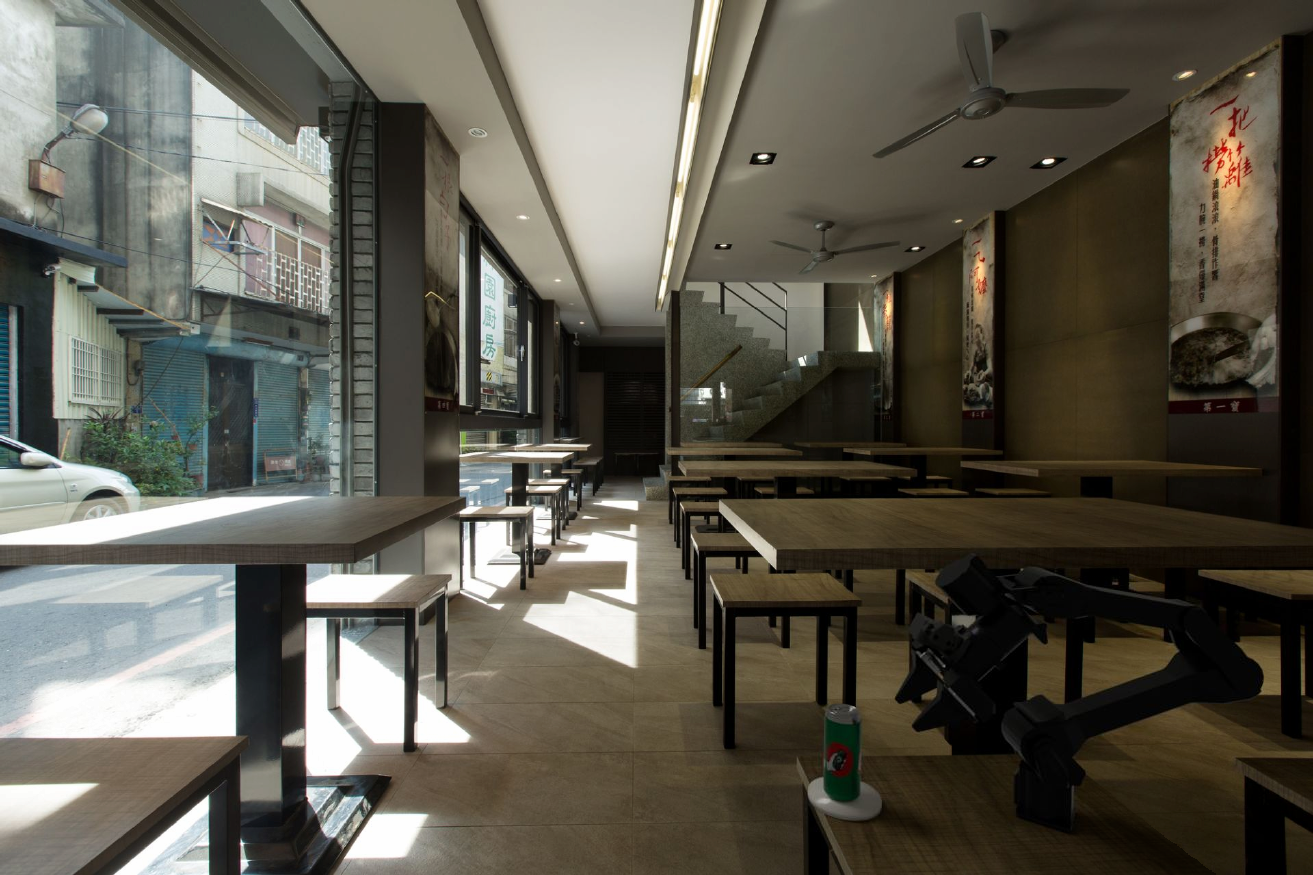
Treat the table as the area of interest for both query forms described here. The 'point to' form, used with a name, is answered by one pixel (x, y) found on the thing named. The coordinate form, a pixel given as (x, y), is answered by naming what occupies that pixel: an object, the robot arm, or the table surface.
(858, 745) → the soda can
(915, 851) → the table surface
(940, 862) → the table surface
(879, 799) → the coaster
